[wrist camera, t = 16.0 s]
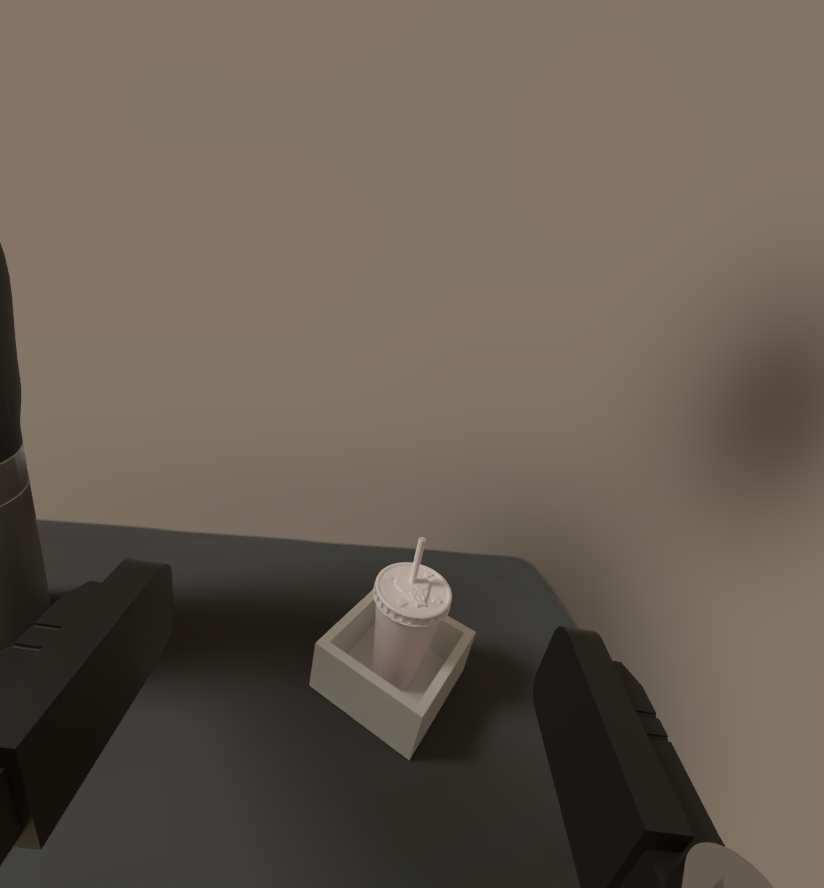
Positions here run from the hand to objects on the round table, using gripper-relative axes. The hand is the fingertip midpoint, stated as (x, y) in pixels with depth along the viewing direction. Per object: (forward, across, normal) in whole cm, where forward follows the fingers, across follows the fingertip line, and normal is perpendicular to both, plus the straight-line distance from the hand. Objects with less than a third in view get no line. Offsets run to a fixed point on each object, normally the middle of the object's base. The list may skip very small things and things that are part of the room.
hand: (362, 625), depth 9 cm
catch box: (+22, -4, +28) cm, 36 cm away
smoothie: (+21, -4, +27) cm, 35 cm away
